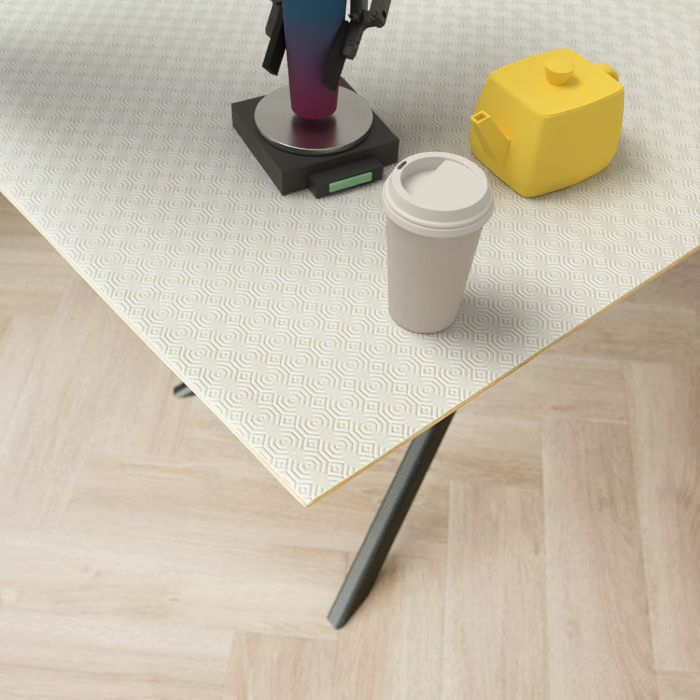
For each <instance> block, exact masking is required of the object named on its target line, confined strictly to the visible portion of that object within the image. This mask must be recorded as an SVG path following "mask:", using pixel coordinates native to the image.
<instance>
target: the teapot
mask: <svg viewBox="0 0 700 700" xmlns="http://www.w3.org/2000/svg"><path fill="white" fill-rule="evenodd" d="M624 107H625V87H624V85H623V84H621V83H620V76H619V73H618V72H617V70H616V69H615V68H613V66H611V65H609V64H606V63H598V64H594V63H593V62H591V61H590V60H588V59H587V58H585V57H584V56H582V55H580V54H579V53H577V52H576V51H574V50H572V49H570V48H568V47H567V48H565V47H564V48H558V49H553V50H549V51H545V52H541V53H538V54H534V55H531V56H528V57H523V58H522V59H519V60H515V61H514V62H511V63H508V64H506V65H502V66H501V67H499V68H496V69H495V70H492V71H491V72H490V73H489V74H488V76H487V78H486V80H485V82H484V84H483V87H482V90H481V93H480V95H479V98H478V100H477V103H476V106H475V109H474V113H473V115H471V116H470V117H469V122H470V129H469V135H468V137H469V140H468V141H469V148H470V152H471V153H472V155H473V156H474V157H475V158H476V159H477V160H478V161H479V162H480V163H481V164H483V166H485V168H487V170H489V171H490V172H491V173H493V175H494V176H495V177H497V178H498V179H500V180H501V181H502V182H503V183H504V184H506V185H507V186H508V187H509V188H510V189H512V190H513V191H514V192H515V193H517V194H518V195H520V196H521V197H523V198H527V199H529V198H535V197H540V196H544V195H547V194H550V193H553V192H554V193H555V192H556V191H560V190H563V189H566V188H568V187H569V188H570V187H572V186H574V185H575V184H578V183H581V182H582V181H585V180H587V179H589V178H591V177H592V176H595V175H597V174H598V173H600V172H602V171H603V170H605V169H606V168H607V167H608V166H609V165H610V163H611V162H612V160H613V158H614V157H615V155H616V153H617V150H618V147H619V143H620V138H621V133H622V128H623V120H624V109H625V108H624Z"/></svg>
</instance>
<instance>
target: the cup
mask: <svg viewBox="0 0 700 700" xmlns="http://www.w3.org/2000/svg"><path fill="white" fill-rule="evenodd" d="M347 4H348V0H282V10H283V21H284V33H285V44H286V50H285V53H286V54H285V55H286V65H287V76H288V77H287V78H288V85H289V89H290V100H291V108H292V111H293V112H294V113H295V114H296V115H298V116H300V117H303V118H306V119H323V118H326V117H329V116H331V115H332V114H333V113H334V112H335V111H336V109H337V101H338V91H339V82H338V86H337V89H336V92H334V91H331V90H328V89H327V88H326V87H325V86H324V85H323V84H322V83H321V81H322V78H323V75H324V72H325V69H326V66H327V62H328V59H329V56H330V53H331V50H332V47H333V43H334V40H335V37H336V34H337V31H338V29H339V27H340V25H341V23H342V20H346V14H347ZM339 80H340V79H339Z"/></svg>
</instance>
